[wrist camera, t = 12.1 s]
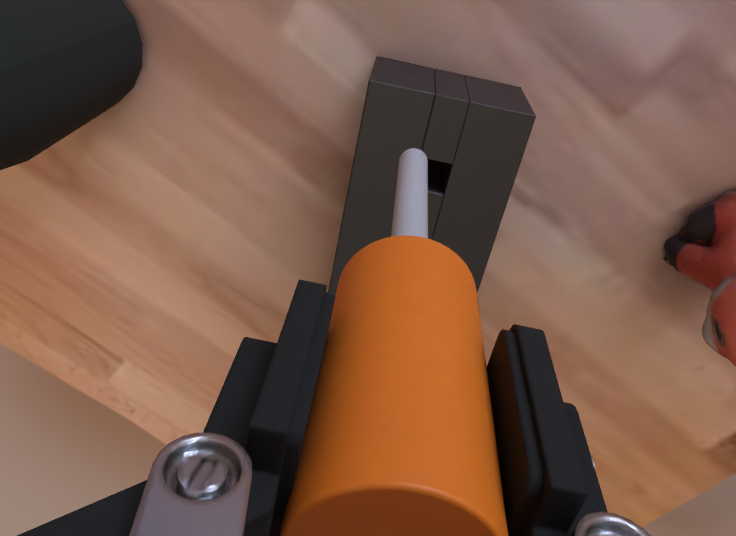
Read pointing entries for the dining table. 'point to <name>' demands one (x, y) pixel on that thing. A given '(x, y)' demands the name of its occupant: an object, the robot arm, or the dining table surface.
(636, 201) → the dining table surface
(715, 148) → the dining table surface
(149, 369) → the dining table surface
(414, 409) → the orange tool handle
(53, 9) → the wine bottle
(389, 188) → the rack
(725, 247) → the stuffed fox
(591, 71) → the dining table surface
